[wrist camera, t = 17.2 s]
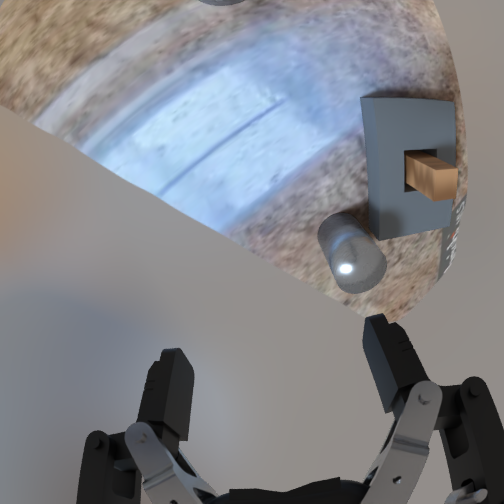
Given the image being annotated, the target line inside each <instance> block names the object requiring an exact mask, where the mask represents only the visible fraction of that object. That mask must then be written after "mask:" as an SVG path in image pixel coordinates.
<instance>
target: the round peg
mask: <svg viewBox="0 0 504 504" xmlns="http://www.w3.org/2000/svg"><path fill="white" fill-rule="evenodd" d="M318 242H319V244H320V247H321V249H322V251H323V253H324V255H325V257H326V260H327V262H328V264H329V266H330V269H331V271H332V273H333V275H334V278H335V280H336V282H337V284H338V286H339V288H340V289H341V290H343V291H345V292H347V293H351V294H357V293H362V292H365V291H368V290H370V289H371V288H373V287H374V286H376V285H377V284H378V283H379V282H380V281H381V279H382V278H383V276H384V274H385V272H386V268H387V261H386V257H385V255H384V254H383V253H382V251H381V250H380V249H379V247H378V246H377V245H376V243H375V242H374V241H373V240H372V238H371V237H370V236H369V234H368V233H367V232H366V231H365V229H364V228H363V227H362V226H361V224H360V223H359V222H358V221H357V219H356V218H355V217H354V216H352V215H350V214H347V213H336V214H333V215H331V216H329V217H328V218H327V219H325V220H324V221H323V223H322V224H321V226H320V227H319V230H318Z"/></svg>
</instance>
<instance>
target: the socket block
mask: <svg viewBox="0 0 504 504" xmlns="http://www.w3.org/2000/svg"><path fill="white" fill-rule="evenodd" d="M360 101H361V108H362V116H363V124H364V134H365V144H366V157H367V173H368V198H369V229H370V231H371V232H372V233H373V234H374V235H375V237H376V238H377V239H378V240H379V241H381V240H386V239H391V238H396V237H401V236H406V235H410V234H415V233H420V232H425V231H430V230H434V229H439V228H444V227H448V226H450V219H451V212H452V203H453V199H448V200H441V201H435V202H433V201H432V200H431V199H429V198H428V197H426V196H425V195H424V194H422V193H421V192H419V191H418V190H416V189H415V188H413V187H412V186H410V185H409V184H407V183H406V182H404V150H419V149H422V152H424V153H427V154H429V155H431V156H433V157H436V158H438V159H440V160H442V161H444V162H446V163H448V164H450V165H452V166H454V167H455V163H456V125H455V107H454V102H451V101H445V100H438V99H425V98H405V97H364V98H360Z"/></svg>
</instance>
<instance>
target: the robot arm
mask: <svg viewBox="0 0 504 504" xmlns="http://www.w3.org/2000/svg"><path fill="white" fill-rule="evenodd" d="M199 1H201V2H203V3H206V4H210V5H216V6H225V5H232V4H236V3H239V2H242V1H244V0H199ZM362 341H363V349H364V352H365V355H366V358H367V361H368V363H369V366H370V369H371V372H372V374H373V378H374V380H375V383H376V386H377V389H378V392H379V395H380V398H381V401H382V404H383V408H384V411H385V413H389V412H391V411H393V414H394V417H395V418H394V421H393V423H392V425H391V428H390V430H389V432H388V435H387V437H386V439H385V441H384V444H383V446H382V448H381V450H380V452H379V454H378V456H377V457H376V459H375V461H374V462H373V464H372V466H371V467H370V469H369V471H368V473H367V475H366V477H365V478H364V480H363V482H362V483H360V482H357V481H352V480H340V477H337V478H332V479H328V480H322V481H317V482H312V483H309V484H307V485H304V486H302V487H299V488H296V489H293V490H290V491H288V492H277V491H269V490H262V489H230V490H229V493H226V494H223V495H221V496H219V495H218V494H217V493H216V492H215V490H214V489H213V488H212V487H211V486H210V485H209V484H208V483H207V482H205V481H204V480H203V479H202V478H201V477H200V476H199V474H198V473H197V472H196V470H195V469H194V468H193V466H192V465H191V464H190V462H189V461H188V460H187V458H186V457H185V455H184V454H183V453H182V451H181V450H180V448H179V441H188V432H189V423H190V413H191V404H192V395H193V387H194V370H193V367H192V365H191V364H190V363H189V361H188V359H187V358H186V356H185V355H184V353H183V351H182V350H181V349H180V348H174V349H164V350H163V351H162V353H161V357H160V361H155V362H154V363H153V365H152V366H151V368H150V369H149V371H148V375H147V379H146V383H145V387H144V392H143V396H142V400H141V404H140V409H139V414H138V418H137V421H136V423H134V424H132V425H131V426H129V427H128V429H127V430H126V431H125V432H121V433H117V434H112V435H107V434H106V433H104V432H103V431H99V430H97V431H93V432H92V433H90V434H89V435H88V437H87V439H86V442H85V447H84V453H83V459H82V464H81V470H80V477H79V485H78V493H77V503H76V504H140V498H141V478H142V475H143V477H144V480H145V481H144V482H143V488H144V490H145V492H146V494H147V495H148V497H149V498H150V500H151V502H152V503H153V504H407V502H408V500H409V498H410V496H411V494H412V492H413V490H414V488H415V486H416V484H417V482H418V479H419V477H420V475H421V472H422V470H423V468H424V465H425V463H426V460H427V457H428V454H429V448H428V445H429V441H430V438H431V435H432V432H433V430H439V432H440V436H441V439H442V443H443V447H444V451H445V455H446V459H447V464H448V468H449V473H450V478H451V483H452V489H453V492H452V493H450V495H449V496H448V497H447V499H446V501H445V503H444V504H504V429H503V426H502V423H501V421H500V418H499V415H498V412H497V409H496V407H495V404H494V402H493V399H492V397H491V394H490V392H489V389H488V387H487V385H486V383H485V382H484V381H483V380H482V379H481V378H479V377H475V376H474V377H469V378H467V379H466V380H465V381H464V382H463V383H462V384H461V385H453V386H439V385H437V384H436V383H434V382H432V381H431V380H430V379H429V378H428V376H427V375H426V373H425V370H424V368H423V366H422V364H421V362H420V360H419V358H418V355H417V354H416V351H415V349H413V345H412V344H411V341H409V338H408V336H407V334H406V332H405V330H404V329H403V328H402V327H401V326H399V325H398V324H397V323H396V322H394V323H391V324H389V323H388V321H387V319H386V317H385V315H384V314H383V313H381V314H377V315H373V316H369V317H366V318H365V325H364V332H363V340H362Z"/></svg>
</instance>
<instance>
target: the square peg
mask: <svg viewBox="0 0 504 504" xmlns="http://www.w3.org/2000/svg"><path fill="white" fill-rule="evenodd" d="M457 179H458V168H456V167H454V166H452V165H450V164H448V163H446V162H444V161H442V160H440V159H438V158H436V157H433V156H431V155H429V154H427V153H424V152H422V151H420V150H404V182H406V183H407V184H409V185H410V186H412V187H413V188H415V189H416V190H418V191H419V192H421V193H422V194H424V195H425V196H426V197H428V198H429V199H431V200H432V201H433V202H435V201H441V200H448V199H455V198H456V191H457Z"/></svg>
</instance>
